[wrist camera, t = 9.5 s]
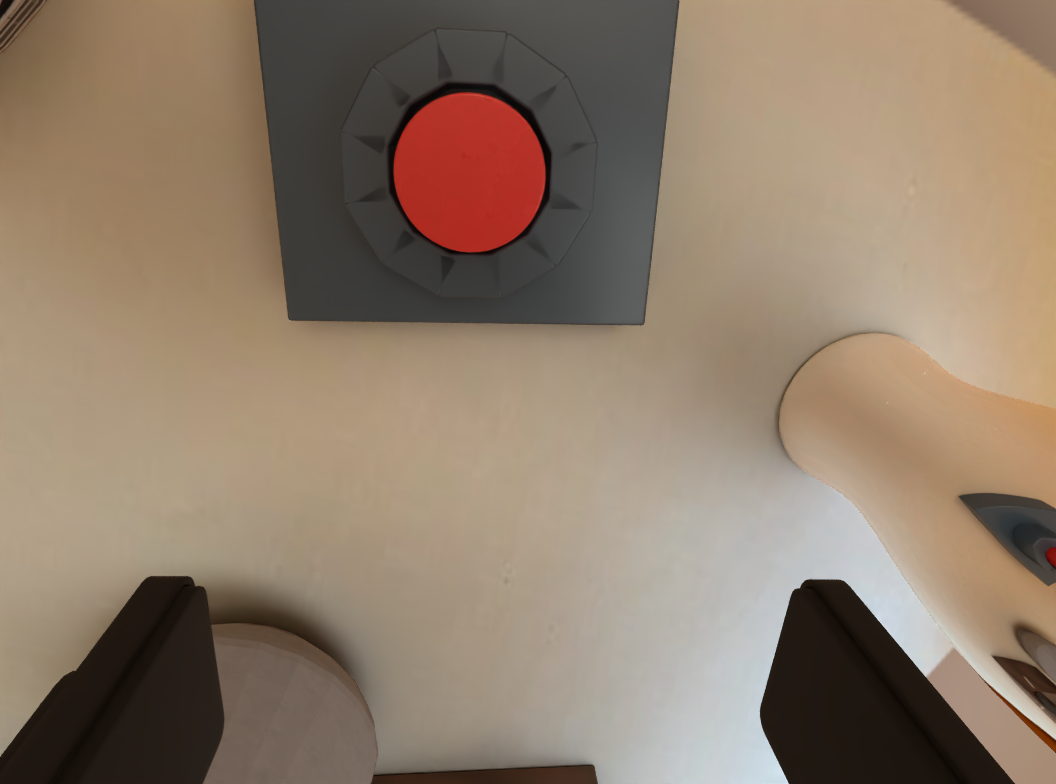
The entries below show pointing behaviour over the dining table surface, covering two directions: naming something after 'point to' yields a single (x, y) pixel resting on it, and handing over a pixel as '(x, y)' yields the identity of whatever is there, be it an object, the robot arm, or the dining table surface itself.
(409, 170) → the button
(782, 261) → the dining table surface
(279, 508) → the dining table surface
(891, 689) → the robot arm
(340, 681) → the coffee pot
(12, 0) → the lighter
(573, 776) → the panel
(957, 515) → the beer glass
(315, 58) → the button box
